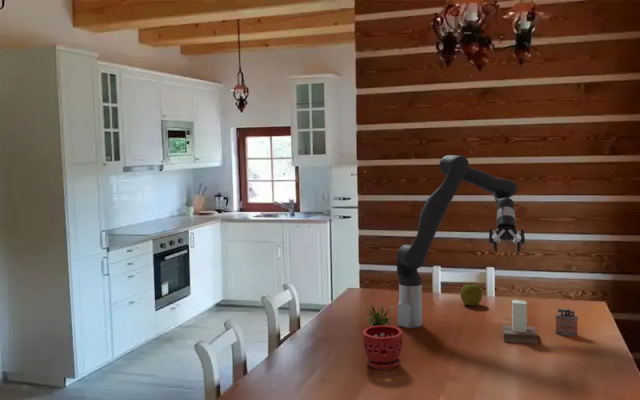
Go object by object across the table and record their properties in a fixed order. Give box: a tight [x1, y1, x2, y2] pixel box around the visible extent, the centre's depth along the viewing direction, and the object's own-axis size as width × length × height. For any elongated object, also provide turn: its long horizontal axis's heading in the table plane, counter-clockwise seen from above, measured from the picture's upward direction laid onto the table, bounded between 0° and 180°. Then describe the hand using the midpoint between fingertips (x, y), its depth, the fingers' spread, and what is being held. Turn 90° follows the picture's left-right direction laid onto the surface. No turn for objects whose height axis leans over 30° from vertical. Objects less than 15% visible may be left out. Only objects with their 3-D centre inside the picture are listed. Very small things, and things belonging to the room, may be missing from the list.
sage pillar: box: [511, 299, 528, 332], centre depth 234 cm, size 5×5×11 cm
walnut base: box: [501, 324, 538, 344], centre depth 234 cm, size 12×12×3 cm
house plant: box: [360, 301, 396, 337], centre depth 228 cm, size 14×14×16 cm
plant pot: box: [362, 325, 403, 370], centre depth 206 cm, size 13×13×12 cm
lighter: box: [554, 308, 579, 337], centre depth 237 cm, size 8×3×10 cm, turn 65°
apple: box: [460, 281, 483, 307], centre depth 284 cm, size 10×10×11 cm
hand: (507, 251), depth 250 cm, fingers open, 8 cm apart
